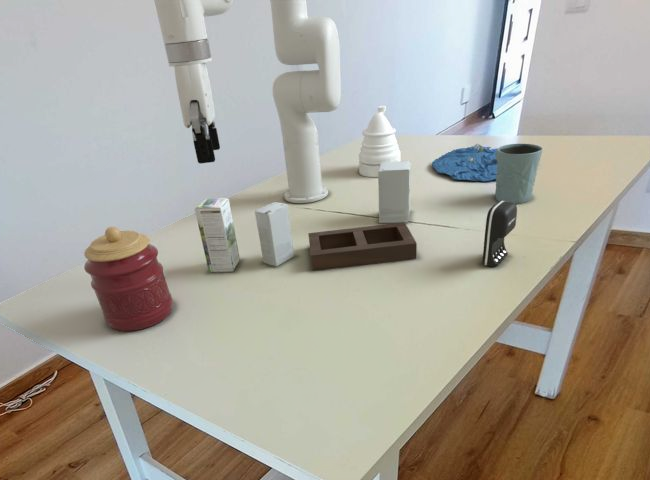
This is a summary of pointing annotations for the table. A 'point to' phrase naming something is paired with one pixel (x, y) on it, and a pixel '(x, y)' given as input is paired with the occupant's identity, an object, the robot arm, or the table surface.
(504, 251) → the battery charger
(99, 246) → the kitchen canister
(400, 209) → the white packaging box
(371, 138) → the honey pot
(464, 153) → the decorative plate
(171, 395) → the table surface
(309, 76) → the robot arm
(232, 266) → the syrup box
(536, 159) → the green cup
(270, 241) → the cosmetic box
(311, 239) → the rack
